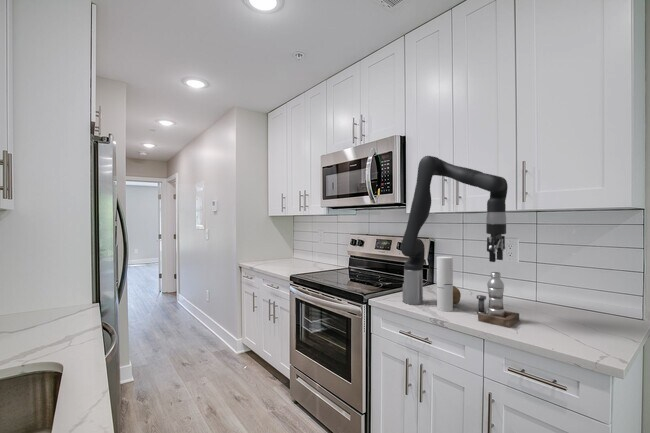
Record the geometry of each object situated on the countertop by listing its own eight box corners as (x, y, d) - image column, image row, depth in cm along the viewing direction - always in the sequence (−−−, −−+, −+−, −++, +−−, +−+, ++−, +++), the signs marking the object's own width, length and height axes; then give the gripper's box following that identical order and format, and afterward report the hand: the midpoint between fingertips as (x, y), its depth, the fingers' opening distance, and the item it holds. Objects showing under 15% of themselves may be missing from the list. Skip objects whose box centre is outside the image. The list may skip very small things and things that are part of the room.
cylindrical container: (454, 311, 152) (453, 258, 152) (438, 311, 153) (437, 257, 153) (451, 307, 159) (451, 256, 159) (436, 307, 160) (435, 256, 160)
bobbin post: (475, 313, 149) (475, 296, 149) (478, 312, 151) (478, 294, 151) (484, 315, 146) (484, 297, 146) (487, 313, 149) (487, 296, 149)
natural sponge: (444, 302, 169) (444, 282, 169) (462, 304, 164) (462, 284, 164) (439, 306, 162) (439, 286, 162) (458, 308, 157) (458, 288, 157)
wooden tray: (478, 320, 139) (478, 313, 139) (489, 314, 148) (489, 307, 148) (509, 327, 130) (509, 320, 130) (519, 320, 139) (519, 313, 139)
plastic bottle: (497, 322, 136) (497, 274, 136) (484, 317, 142) (483, 272, 142) (508, 320, 138) (508, 273, 138) (494, 315, 145) (494, 270, 144)
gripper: (493, 222, 147) (493, 258, 147) (480, 223, 137) (480, 261, 137) (511, 222, 141) (511, 260, 142) (499, 223, 132) (499, 263, 132)
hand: (496, 260), depth 139 cm, fingers open, 8 cm apart
